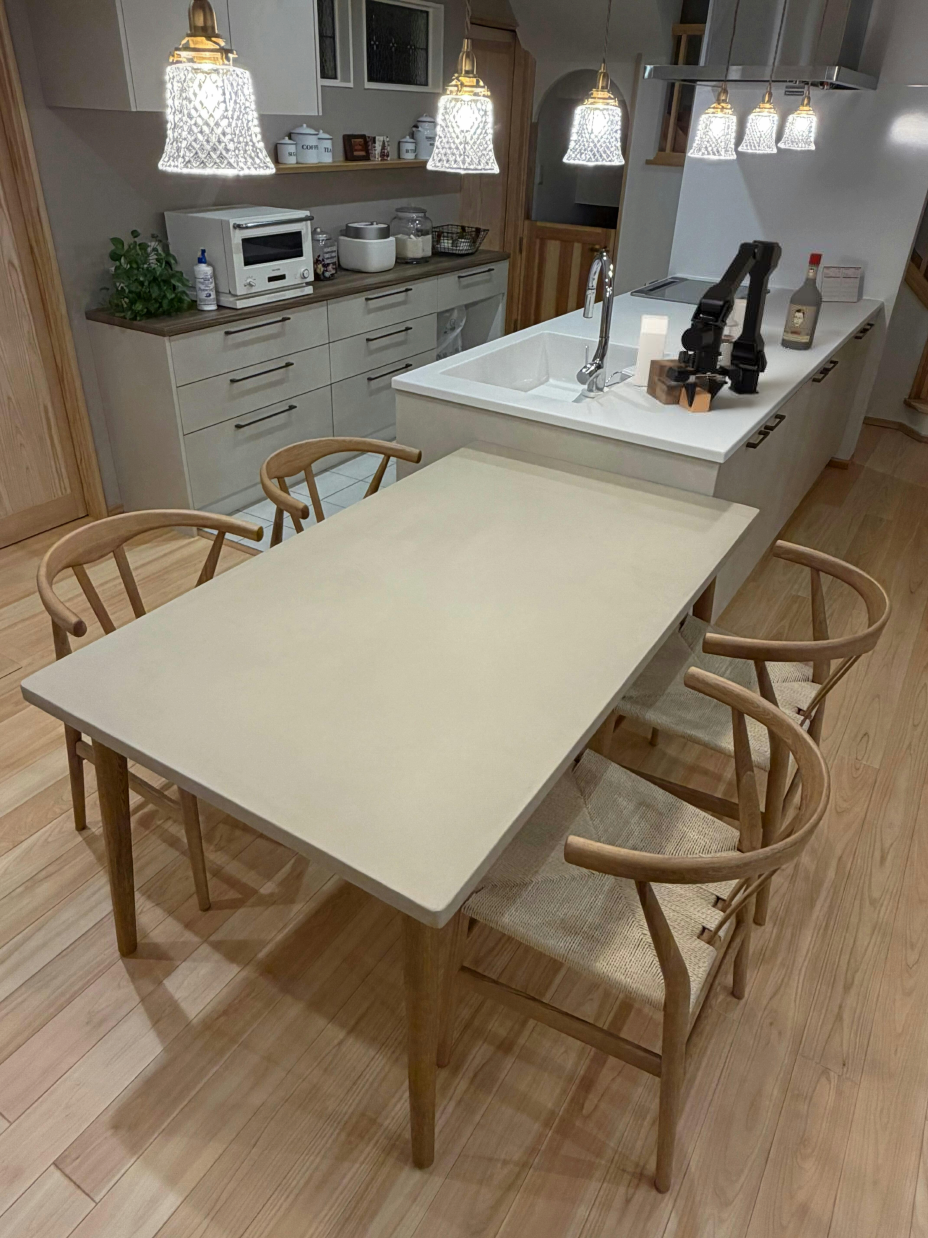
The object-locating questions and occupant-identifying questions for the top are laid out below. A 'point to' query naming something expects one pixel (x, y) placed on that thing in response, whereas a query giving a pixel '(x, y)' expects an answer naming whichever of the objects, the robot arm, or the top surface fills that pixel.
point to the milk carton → (650, 345)
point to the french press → (727, 347)
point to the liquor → (803, 310)
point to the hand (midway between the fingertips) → (698, 406)
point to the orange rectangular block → (695, 400)
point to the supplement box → (738, 317)
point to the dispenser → (668, 382)
